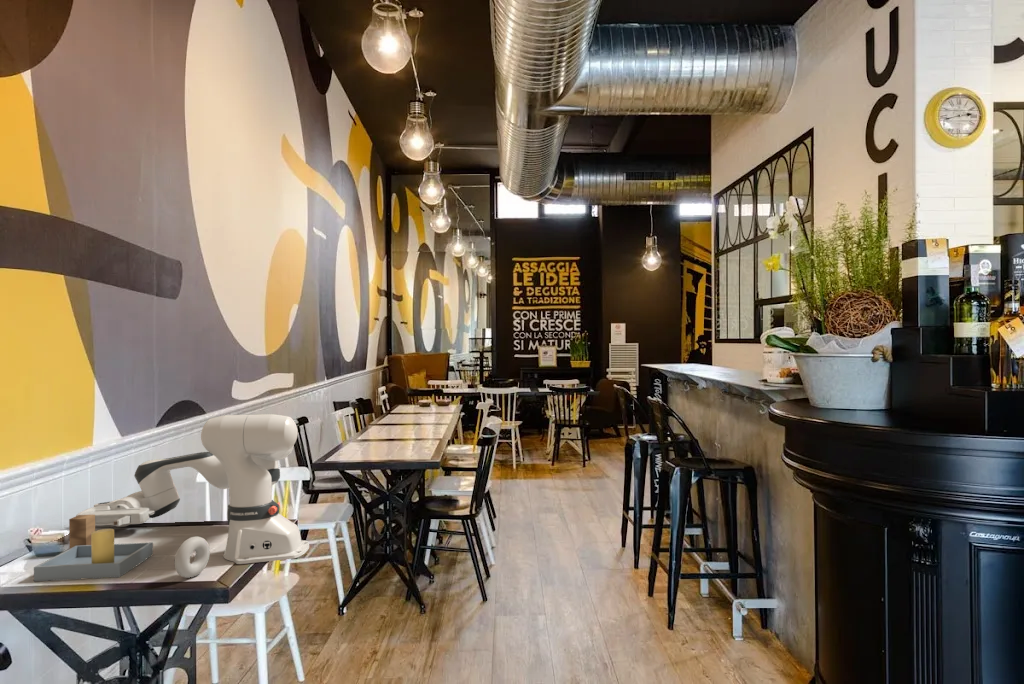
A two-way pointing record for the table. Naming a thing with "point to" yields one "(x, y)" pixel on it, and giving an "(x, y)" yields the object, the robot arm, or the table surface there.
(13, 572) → the table surface
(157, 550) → the table surface
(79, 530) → the walnut block
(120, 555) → the tray
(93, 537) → the mustard cylinder
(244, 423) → the robot arm
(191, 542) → the donut
